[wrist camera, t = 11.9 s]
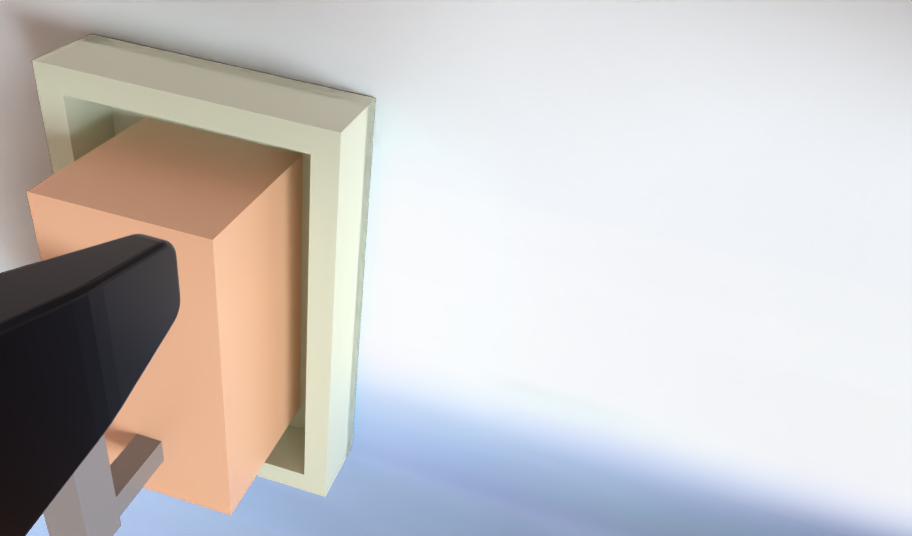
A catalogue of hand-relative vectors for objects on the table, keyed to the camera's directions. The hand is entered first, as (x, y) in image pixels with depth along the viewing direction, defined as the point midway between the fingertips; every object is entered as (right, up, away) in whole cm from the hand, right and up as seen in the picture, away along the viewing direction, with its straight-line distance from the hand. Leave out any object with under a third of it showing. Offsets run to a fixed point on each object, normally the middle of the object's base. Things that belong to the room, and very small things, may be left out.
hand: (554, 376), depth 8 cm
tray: (-8, +1, +18) cm, 20 cm away
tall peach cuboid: (-8, +1, +17) cm, 19 cm away
